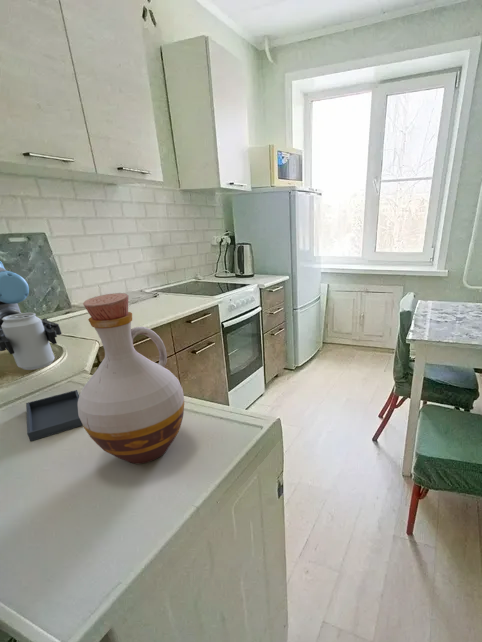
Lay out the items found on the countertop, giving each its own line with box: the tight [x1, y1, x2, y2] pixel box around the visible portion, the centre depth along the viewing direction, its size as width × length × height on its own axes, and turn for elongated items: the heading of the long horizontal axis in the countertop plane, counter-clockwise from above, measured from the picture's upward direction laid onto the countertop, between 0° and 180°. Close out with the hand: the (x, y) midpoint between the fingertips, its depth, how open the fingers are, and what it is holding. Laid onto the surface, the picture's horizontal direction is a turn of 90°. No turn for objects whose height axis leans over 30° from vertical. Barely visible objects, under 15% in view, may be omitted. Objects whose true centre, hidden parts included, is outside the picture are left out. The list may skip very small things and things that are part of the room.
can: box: [1, 312, 56, 371], centre depth 81 cm, size 8×8×12 cm
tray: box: [25, 389, 83, 442], centre depth 83 cm, size 17×11×2 cm, turn 35°
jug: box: [78, 292, 185, 465], centre depth 64 cm, size 20×18×30 cm
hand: (32, 342), depth 77 cm, fingers closed on can, 7 cm apart
